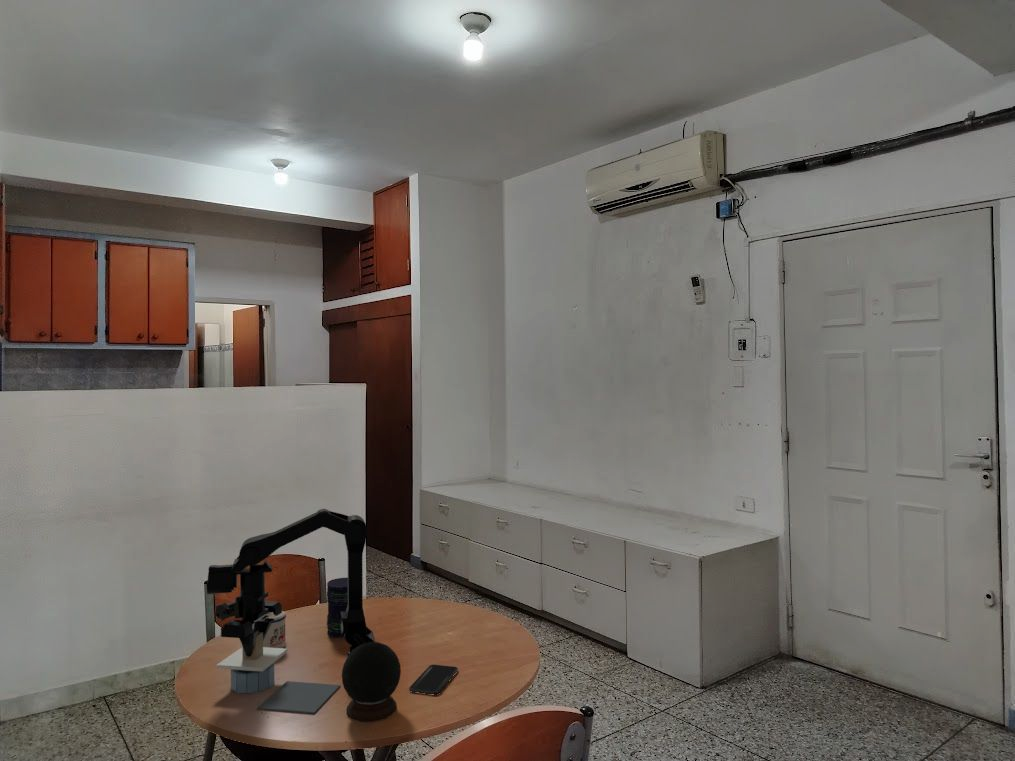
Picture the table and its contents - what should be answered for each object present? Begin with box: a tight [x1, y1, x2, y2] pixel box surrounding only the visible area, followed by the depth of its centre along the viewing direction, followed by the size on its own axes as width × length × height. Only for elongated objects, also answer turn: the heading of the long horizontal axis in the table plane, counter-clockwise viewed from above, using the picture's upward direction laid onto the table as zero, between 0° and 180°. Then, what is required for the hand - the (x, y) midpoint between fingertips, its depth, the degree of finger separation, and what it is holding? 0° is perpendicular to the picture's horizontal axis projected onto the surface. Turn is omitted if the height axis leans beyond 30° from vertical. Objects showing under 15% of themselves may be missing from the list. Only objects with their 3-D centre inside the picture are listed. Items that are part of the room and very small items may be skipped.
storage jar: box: [326, 577, 348, 639], centre depth 204 cm, size 10×10×15 cm
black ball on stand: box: [341, 641, 402, 723], centre depth 155 cm, size 13×13×15 cm
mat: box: [256, 680, 341, 715], centre depth 162 cm, size 14×14×1 cm
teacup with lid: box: [263, 610, 287, 648], centre depth 194 cm, size 12×9×12 cm
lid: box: [216, 632, 288, 672], centre depth 169 cm, size 12×12×6 cm
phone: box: [409, 664, 459, 696], centre depth 170 cm, size 8×1×15 cm
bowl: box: [230, 662, 275, 694], centre depth 169 cm, size 10×10×4 cm
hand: (252, 653), depth 169 cm, fingers closed on lid, 3 cm apart
